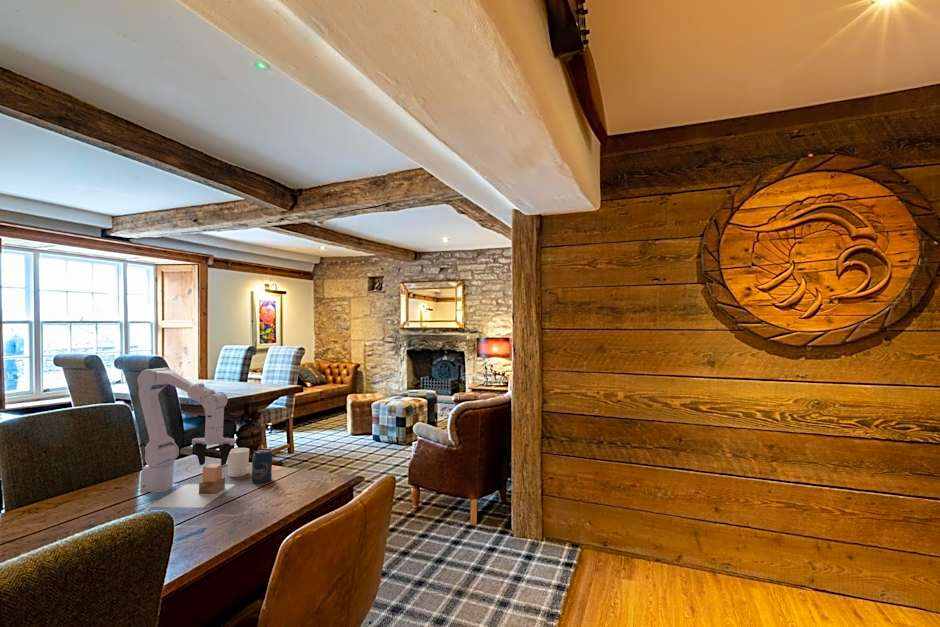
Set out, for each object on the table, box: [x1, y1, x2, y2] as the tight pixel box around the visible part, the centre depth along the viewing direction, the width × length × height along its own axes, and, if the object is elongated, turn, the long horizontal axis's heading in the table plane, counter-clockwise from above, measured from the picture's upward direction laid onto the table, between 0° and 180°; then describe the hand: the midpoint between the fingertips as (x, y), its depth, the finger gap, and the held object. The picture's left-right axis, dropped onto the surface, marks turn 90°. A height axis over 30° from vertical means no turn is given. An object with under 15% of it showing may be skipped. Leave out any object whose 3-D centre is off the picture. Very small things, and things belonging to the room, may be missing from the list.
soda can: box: [251, 448, 273, 485], centre depth 174 cm, size 7×7×12 cm
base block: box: [198, 476, 226, 494], centre depth 162 cm, size 6×6×4 cm
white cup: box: [227, 447, 250, 478], centre depth 181 cm, size 8×8×10 cm
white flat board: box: [147, 483, 237, 509], centre depth 158 cm, size 18×22×1 cm
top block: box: [201, 463, 223, 482], centre depth 162 cm, size 4×4×5 cm
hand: (212, 464), depth 163 cm, fingers open, 7 cm apart
